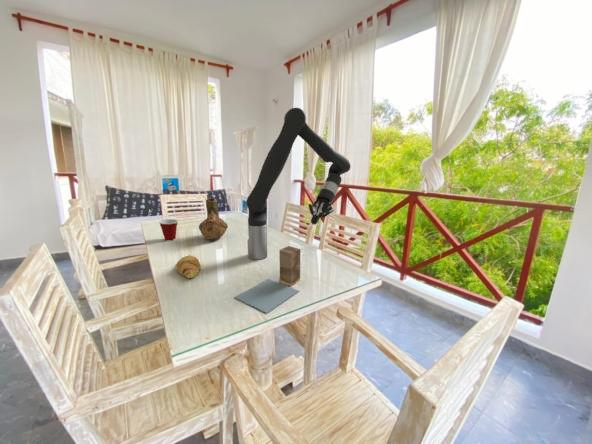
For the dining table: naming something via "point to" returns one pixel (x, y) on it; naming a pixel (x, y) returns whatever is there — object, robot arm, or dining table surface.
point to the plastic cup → (169, 228)
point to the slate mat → (267, 295)
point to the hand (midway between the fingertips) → (313, 223)
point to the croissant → (188, 266)
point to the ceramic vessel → (213, 221)
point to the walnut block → (290, 265)
